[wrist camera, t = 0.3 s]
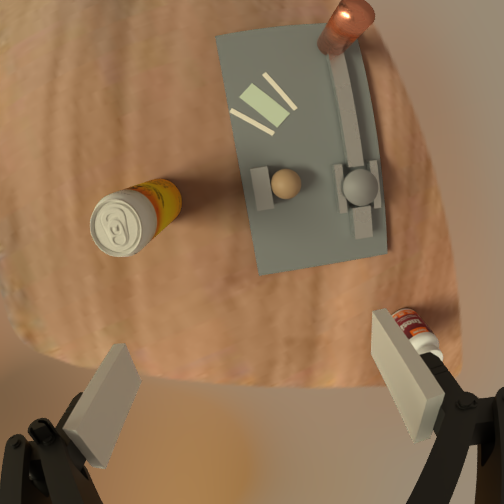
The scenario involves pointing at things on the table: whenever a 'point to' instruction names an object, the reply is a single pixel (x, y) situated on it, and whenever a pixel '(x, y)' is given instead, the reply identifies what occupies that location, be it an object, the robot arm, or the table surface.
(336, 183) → the lever
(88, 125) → the table surface
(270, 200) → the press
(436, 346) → the pill bottle
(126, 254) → the beer can
